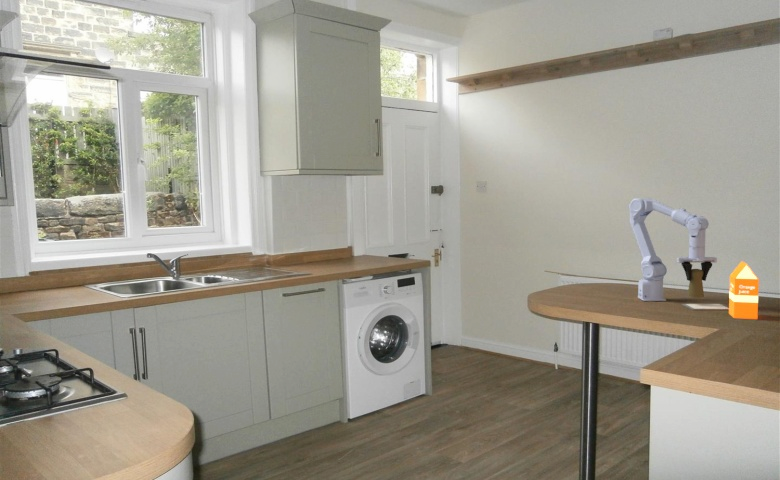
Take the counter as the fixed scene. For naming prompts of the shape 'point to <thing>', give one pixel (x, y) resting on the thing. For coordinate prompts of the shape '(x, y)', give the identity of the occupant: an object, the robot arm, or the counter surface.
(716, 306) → the notepad
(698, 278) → the cork
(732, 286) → the orange juice
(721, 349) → the counter surface
